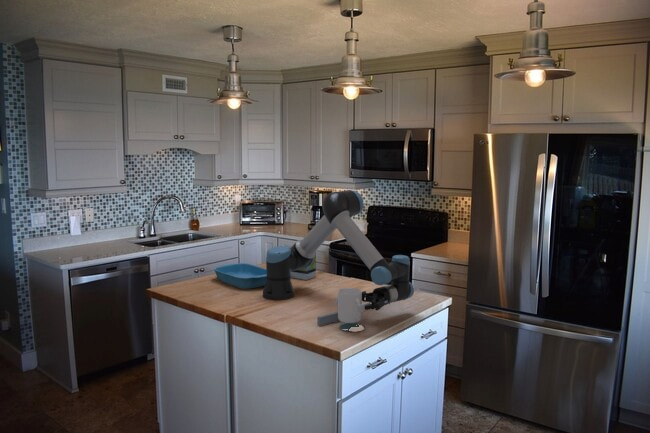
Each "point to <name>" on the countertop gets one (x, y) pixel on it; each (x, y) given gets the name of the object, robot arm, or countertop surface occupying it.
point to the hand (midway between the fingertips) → (346, 304)
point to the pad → (349, 325)
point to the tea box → (305, 271)
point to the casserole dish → (241, 275)
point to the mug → (349, 305)
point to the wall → (327, 318)
